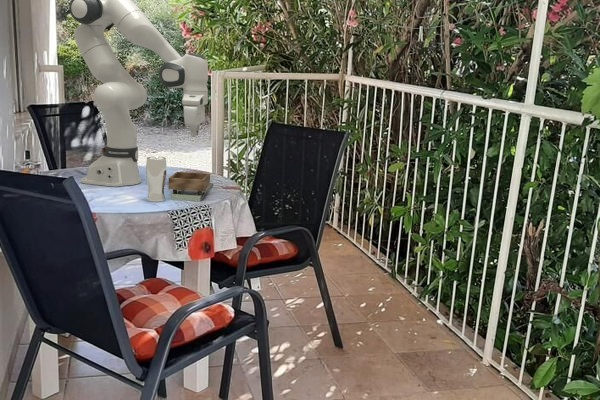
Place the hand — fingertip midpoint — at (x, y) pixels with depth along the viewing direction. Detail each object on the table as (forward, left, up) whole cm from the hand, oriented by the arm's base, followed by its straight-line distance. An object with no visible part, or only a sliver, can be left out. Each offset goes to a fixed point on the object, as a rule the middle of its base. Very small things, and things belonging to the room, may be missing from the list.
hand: (194, 136), depth 225 cm
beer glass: (-10, -17, -21) cm, 29 cm away
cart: (0, -8, -20) cm, 21 cm away
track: (0, -1, -21) cm, 21 cm away
